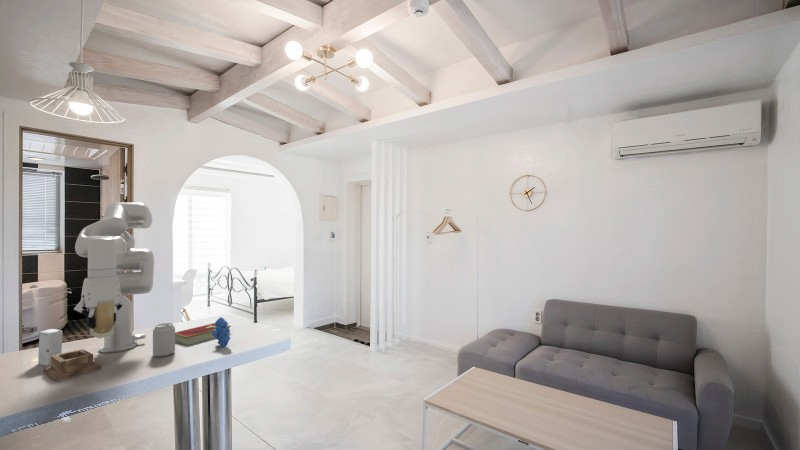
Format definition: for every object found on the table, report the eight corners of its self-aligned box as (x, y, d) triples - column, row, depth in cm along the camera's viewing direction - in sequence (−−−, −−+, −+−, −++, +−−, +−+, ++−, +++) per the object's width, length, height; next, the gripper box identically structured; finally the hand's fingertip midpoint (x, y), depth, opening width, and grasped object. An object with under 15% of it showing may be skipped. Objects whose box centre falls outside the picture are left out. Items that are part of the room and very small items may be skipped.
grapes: (206, 345, 157) (206, 317, 157) (222, 341, 162) (222, 314, 162) (217, 351, 149) (217, 322, 150) (233, 347, 155) (233, 319, 155)
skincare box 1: (37, 364, 135) (37, 331, 135) (52, 360, 139) (52, 328, 139) (48, 366, 133) (48, 333, 133) (62, 361, 137) (63, 329, 137)
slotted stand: (86, 361, 138) (86, 346, 138) (100, 369, 130) (100, 354, 130) (42, 371, 128) (43, 356, 128) (55, 381, 120) (55, 364, 120)
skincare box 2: (89, 336, 124) (89, 300, 124) (103, 332, 128) (103, 298, 128) (99, 338, 122) (100, 302, 122) (114, 335, 126) (114, 300, 126)
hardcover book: (171, 341, 163) (171, 332, 163) (215, 330, 181) (215, 321, 181) (186, 346, 157) (186, 336, 157) (230, 334, 175) (230, 325, 175)
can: (179, 352, 148) (179, 323, 148) (160, 358, 141) (160, 327, 141) (167, 350, 151) (167, 321, 151) (148, 355, 144) (148, 325, 144)
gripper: (126, 269, 134) (126, 318, 134) (65, 275, 120) (65, 330, 120) (135, 271, 130) (135, 322, 130) (73, 277, 116) (73, 334, 116)
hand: (101, 325), depth 125 cm, fingers closed on skincare box 2, 4 cm apart
